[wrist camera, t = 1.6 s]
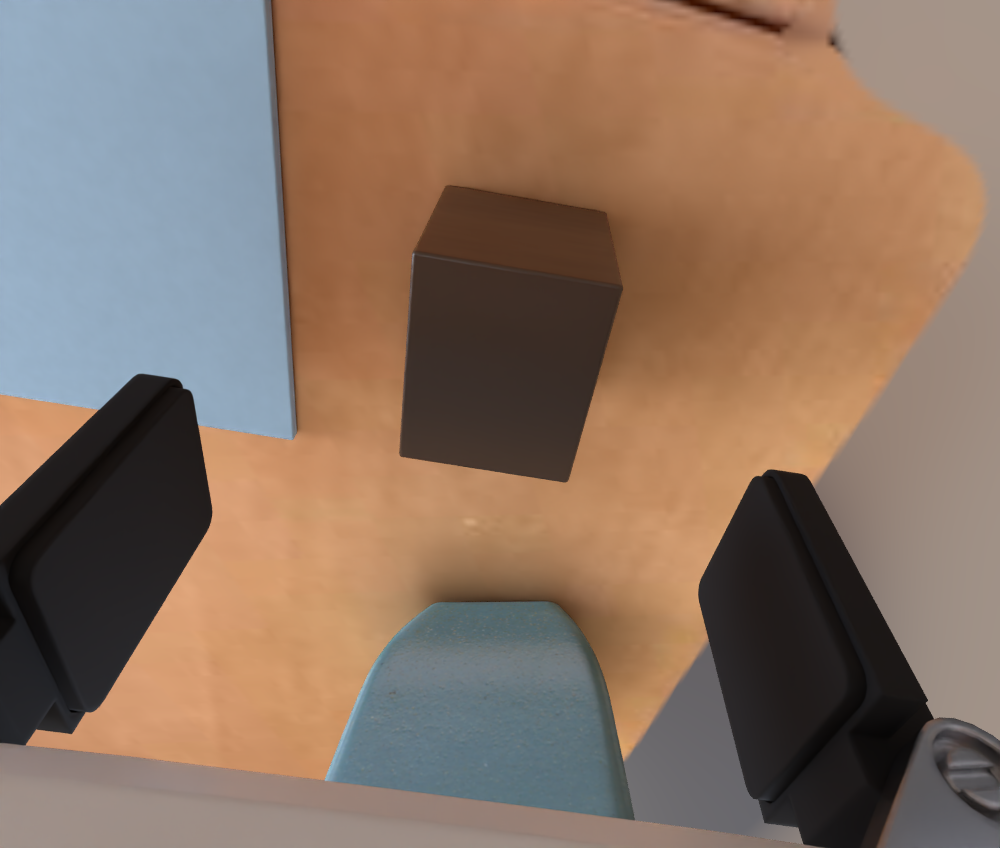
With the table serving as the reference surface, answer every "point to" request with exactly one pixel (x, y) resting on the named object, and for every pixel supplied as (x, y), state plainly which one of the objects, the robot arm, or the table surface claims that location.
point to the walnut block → (506, 332)
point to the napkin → (144, 206)
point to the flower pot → (489, 712)
